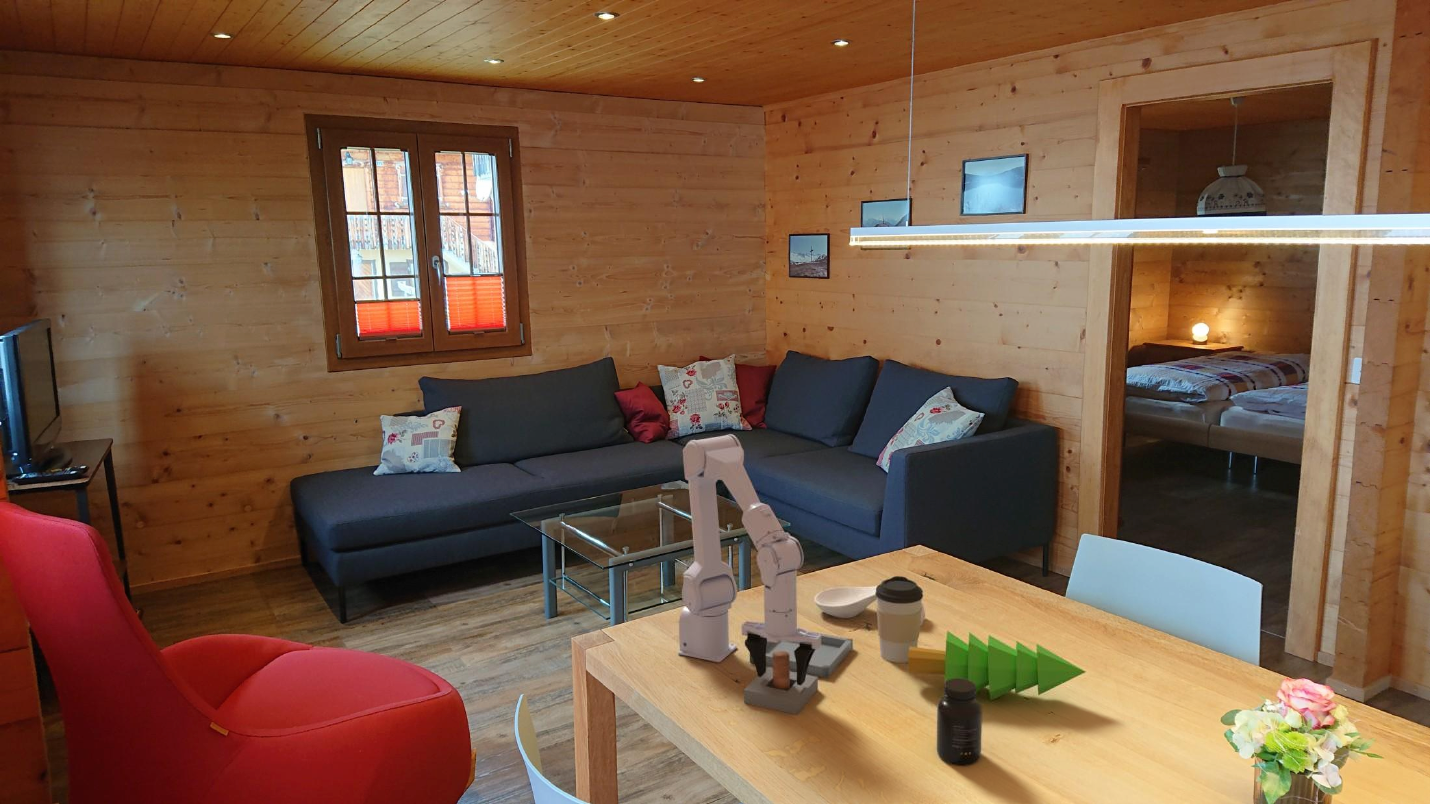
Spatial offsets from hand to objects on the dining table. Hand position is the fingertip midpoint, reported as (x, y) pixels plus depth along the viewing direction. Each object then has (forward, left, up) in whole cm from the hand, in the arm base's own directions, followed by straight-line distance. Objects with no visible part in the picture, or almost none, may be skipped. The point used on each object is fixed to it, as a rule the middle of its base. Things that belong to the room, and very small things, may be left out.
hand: (781, 678), depth 170 cm
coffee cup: (+14, +25, -4) cm, 29 cm away
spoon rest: (+3, +42, -4) cm, 42 cm away
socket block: (0, 0, -3) cm, 3 cm away
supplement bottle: (+33, -6, -4) cm, 34 cm away
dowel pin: (0, 0, -3) cm, 3 cm away
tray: (-3, +17, -3) cm, 18 cm away
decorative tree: (+34, +16, -4) cm, 38 cm away
